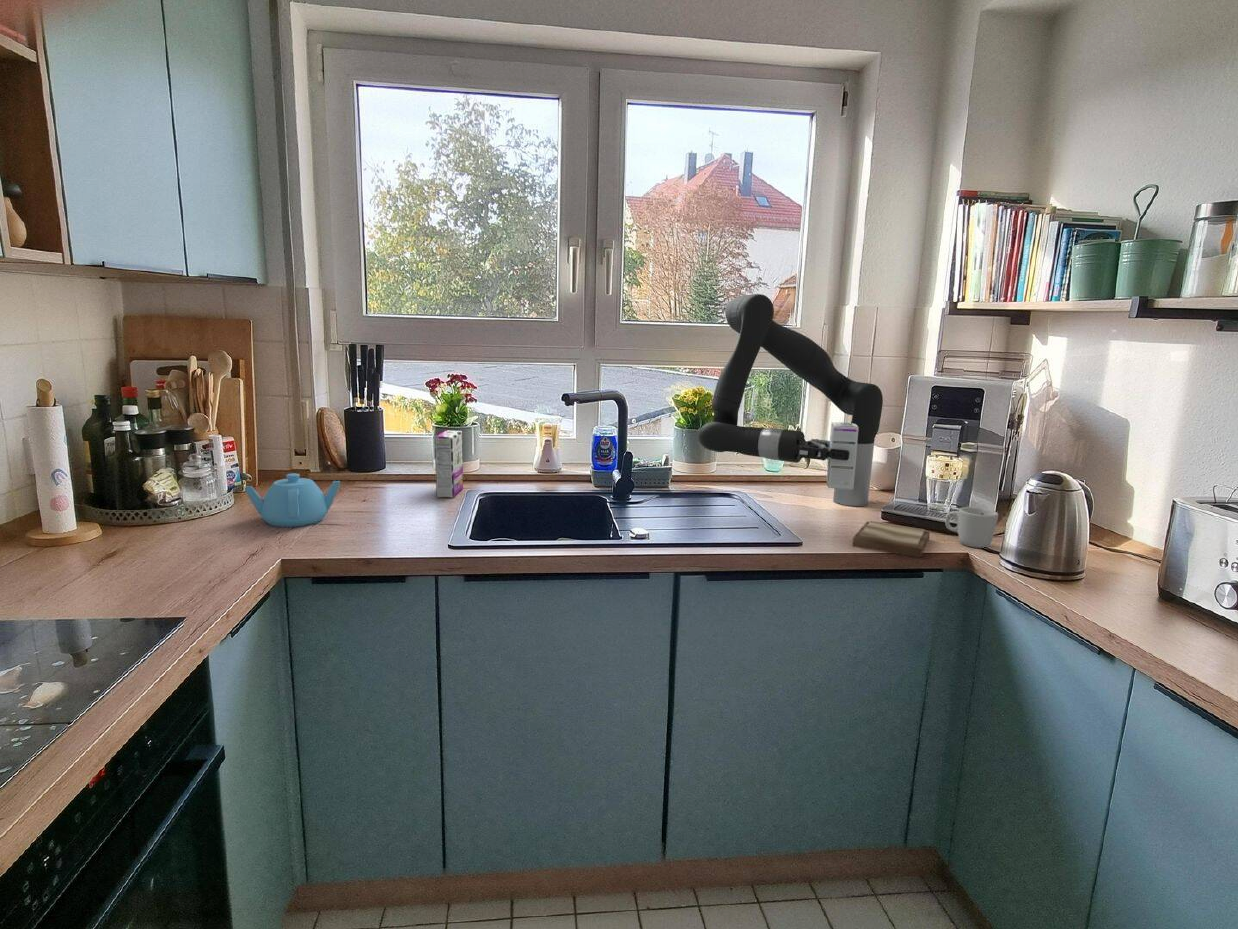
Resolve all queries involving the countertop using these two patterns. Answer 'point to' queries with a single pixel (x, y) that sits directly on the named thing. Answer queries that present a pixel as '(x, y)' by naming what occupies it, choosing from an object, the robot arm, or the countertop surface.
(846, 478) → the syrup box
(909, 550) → the riser
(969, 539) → the cup
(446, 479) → the candy bar box
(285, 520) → the teapot
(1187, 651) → the countertop surface
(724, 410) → the robot arm
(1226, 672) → the countertop surface
